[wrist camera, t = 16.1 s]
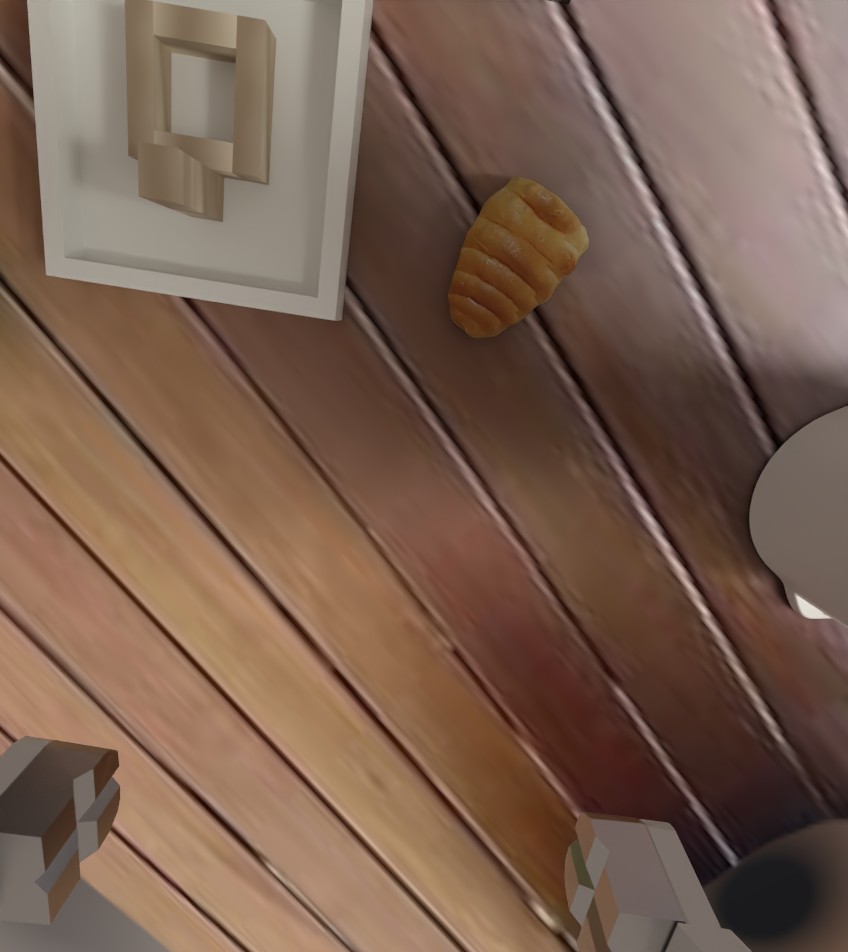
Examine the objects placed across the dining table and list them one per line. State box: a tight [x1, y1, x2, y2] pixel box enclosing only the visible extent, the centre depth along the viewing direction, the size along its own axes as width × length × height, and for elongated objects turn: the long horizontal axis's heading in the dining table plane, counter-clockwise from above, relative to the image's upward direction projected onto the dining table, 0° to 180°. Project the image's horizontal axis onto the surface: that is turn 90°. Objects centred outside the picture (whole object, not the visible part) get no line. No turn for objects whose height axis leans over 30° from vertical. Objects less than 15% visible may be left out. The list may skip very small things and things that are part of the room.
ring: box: [125, 0, 276, 222], centre depth 28 cm, size 8×10×6 cm
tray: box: [27, 0, 373, 321], centre depth 30 cm, size 18×18×2 cm
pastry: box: [448, 177, 589, 338], centre depth 32 cm, size 9×7×4 cm
